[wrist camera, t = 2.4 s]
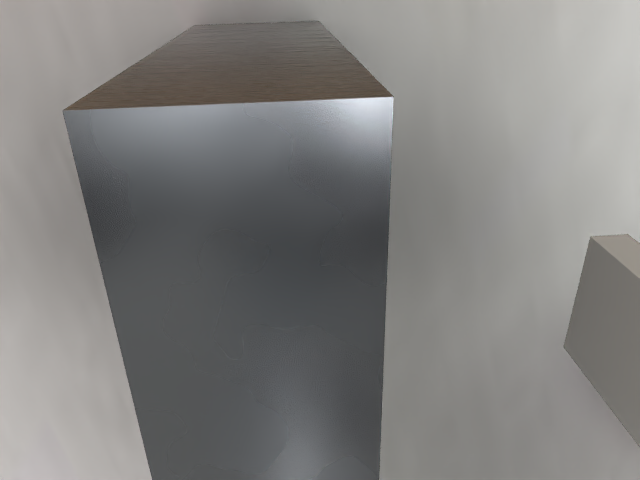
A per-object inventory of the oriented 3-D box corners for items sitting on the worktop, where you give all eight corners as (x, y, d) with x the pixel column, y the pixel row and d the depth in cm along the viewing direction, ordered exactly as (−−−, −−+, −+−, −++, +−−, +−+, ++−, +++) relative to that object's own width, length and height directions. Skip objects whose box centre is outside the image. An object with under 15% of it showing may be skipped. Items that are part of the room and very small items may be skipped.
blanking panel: (324, 283, 22) (374, 581, 11) (227, 289, 22) (181, 600, 11) (318, 20, 17) (394, 96, 7) (194, 25, 17) (61, 110, 6)
